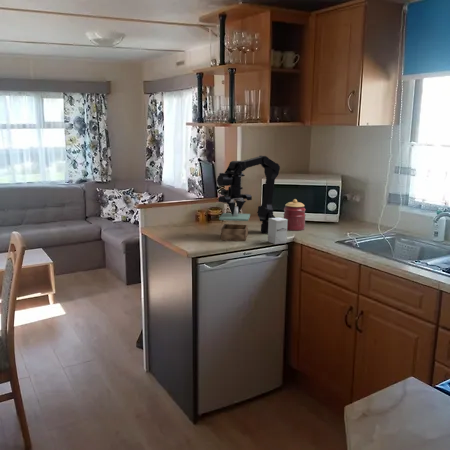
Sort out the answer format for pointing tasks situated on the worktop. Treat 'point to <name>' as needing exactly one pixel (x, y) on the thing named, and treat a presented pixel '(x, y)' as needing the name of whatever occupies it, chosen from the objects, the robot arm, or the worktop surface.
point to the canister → (295, 215)
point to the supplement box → (277, 230)
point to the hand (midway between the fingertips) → (235, 214)
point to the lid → (235, 216)
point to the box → (234, 232)
